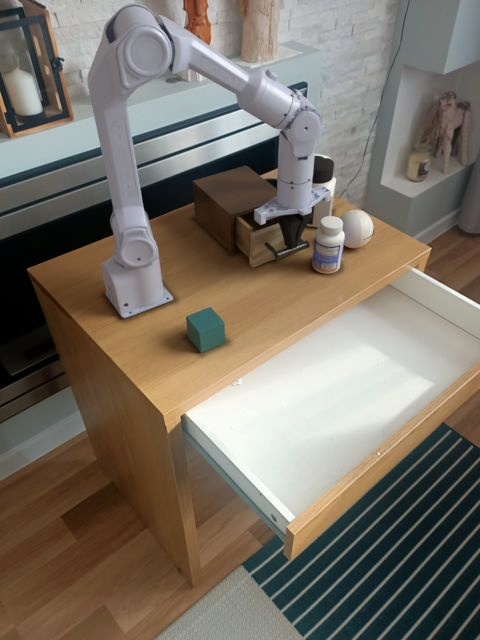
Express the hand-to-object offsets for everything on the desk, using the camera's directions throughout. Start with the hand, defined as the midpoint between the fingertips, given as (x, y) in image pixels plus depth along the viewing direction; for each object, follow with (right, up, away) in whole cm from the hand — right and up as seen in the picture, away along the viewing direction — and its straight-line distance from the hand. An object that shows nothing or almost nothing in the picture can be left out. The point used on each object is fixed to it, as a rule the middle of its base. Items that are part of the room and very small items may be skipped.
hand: (290, 245), depth 99 cm
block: (-14, -17, -9) cm, 24 cm away
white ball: (+14, +3, +11) cm, 18 cm away
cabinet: (-10, +7, +14) cm, 19 cm away
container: (+5, +9, +17) cm, 20 cm away
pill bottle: (+7, -3, +6) cm, 9 cm away
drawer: (-4, +1, +8) cm, 9 cm away
